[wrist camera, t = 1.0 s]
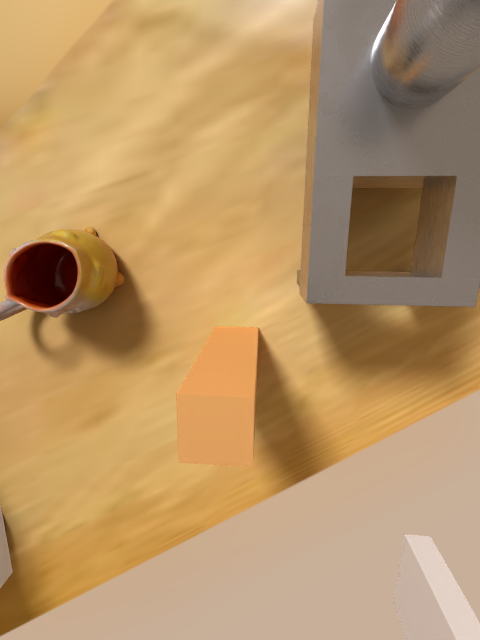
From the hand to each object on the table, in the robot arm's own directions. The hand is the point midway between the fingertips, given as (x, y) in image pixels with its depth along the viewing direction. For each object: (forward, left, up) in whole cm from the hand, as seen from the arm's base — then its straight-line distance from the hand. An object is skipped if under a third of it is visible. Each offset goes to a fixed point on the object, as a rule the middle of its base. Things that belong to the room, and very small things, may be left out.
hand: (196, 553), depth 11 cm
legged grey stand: (+10, +15, -21) cm, 27 cm away
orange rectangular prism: (0, 0, -21) cm, 21 cm away
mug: (-16, +6, -21) cm, 27 cm away
